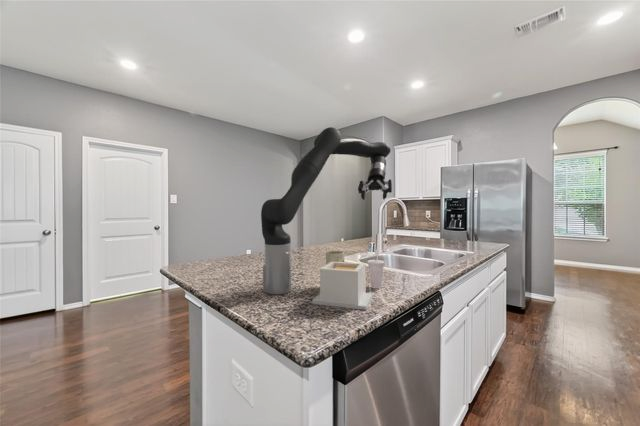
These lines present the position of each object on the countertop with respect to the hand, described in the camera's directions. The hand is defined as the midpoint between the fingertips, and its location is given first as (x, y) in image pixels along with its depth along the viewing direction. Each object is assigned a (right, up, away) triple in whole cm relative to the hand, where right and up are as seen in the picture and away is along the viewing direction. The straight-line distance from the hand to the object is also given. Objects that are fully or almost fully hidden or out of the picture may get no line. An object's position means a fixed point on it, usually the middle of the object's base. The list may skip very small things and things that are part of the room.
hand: (373, 198), depth 115 cm
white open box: (-15, -34, -26) cm, 46 cm away
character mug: (-17, -34, -11) cm, 40 cm away
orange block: (-15, -32, -26) cm, 44 cm away
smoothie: (-1, -34, -13) cm, 37 cm away
